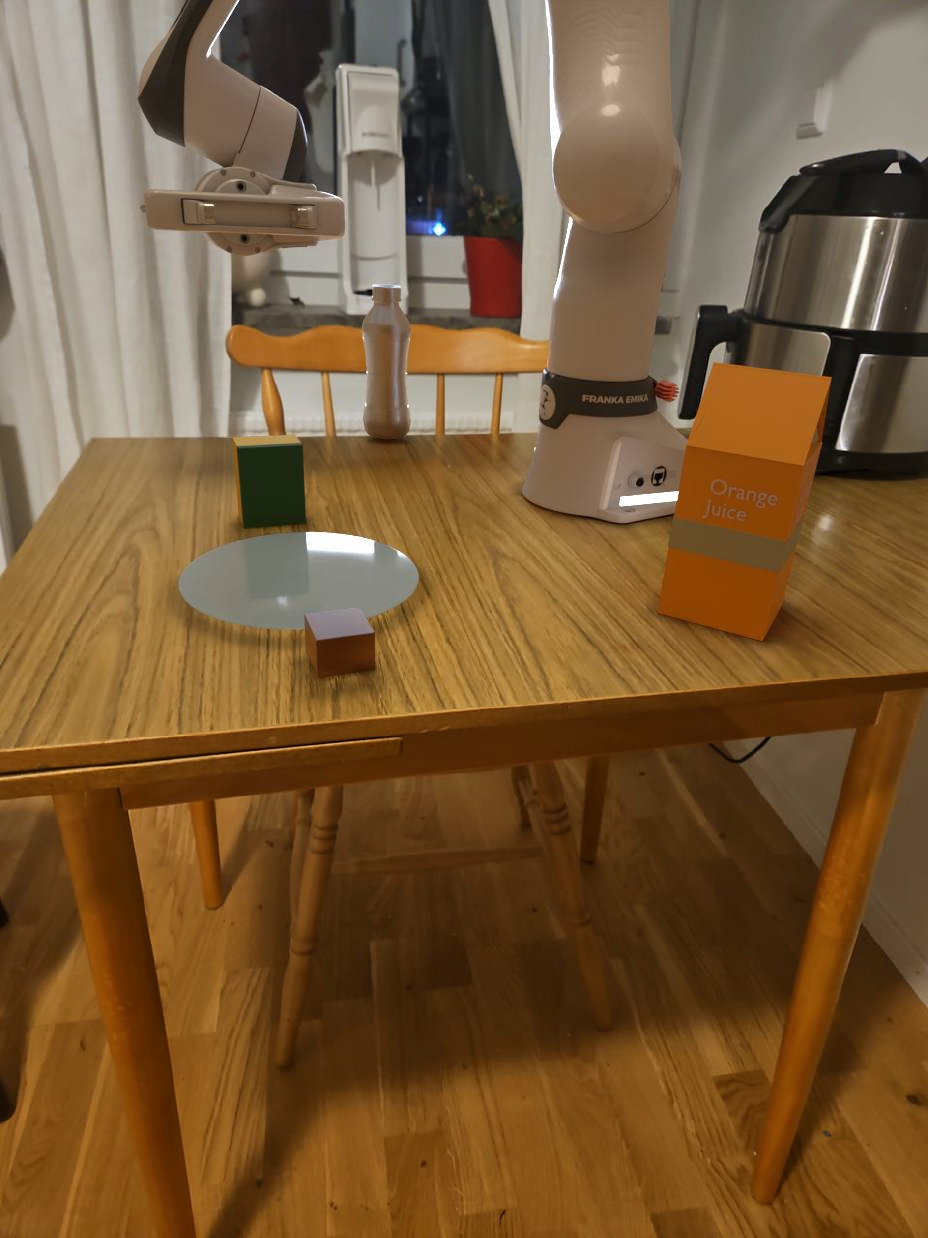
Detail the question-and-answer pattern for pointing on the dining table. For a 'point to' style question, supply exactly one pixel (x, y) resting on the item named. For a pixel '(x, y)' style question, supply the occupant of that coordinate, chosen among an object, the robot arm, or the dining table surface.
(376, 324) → the plastic bottle
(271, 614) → the plate
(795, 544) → the orange juice
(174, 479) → the dining table surface
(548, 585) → the dining table surface
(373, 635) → the brown cube
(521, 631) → the dining table surface
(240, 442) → the sponge
